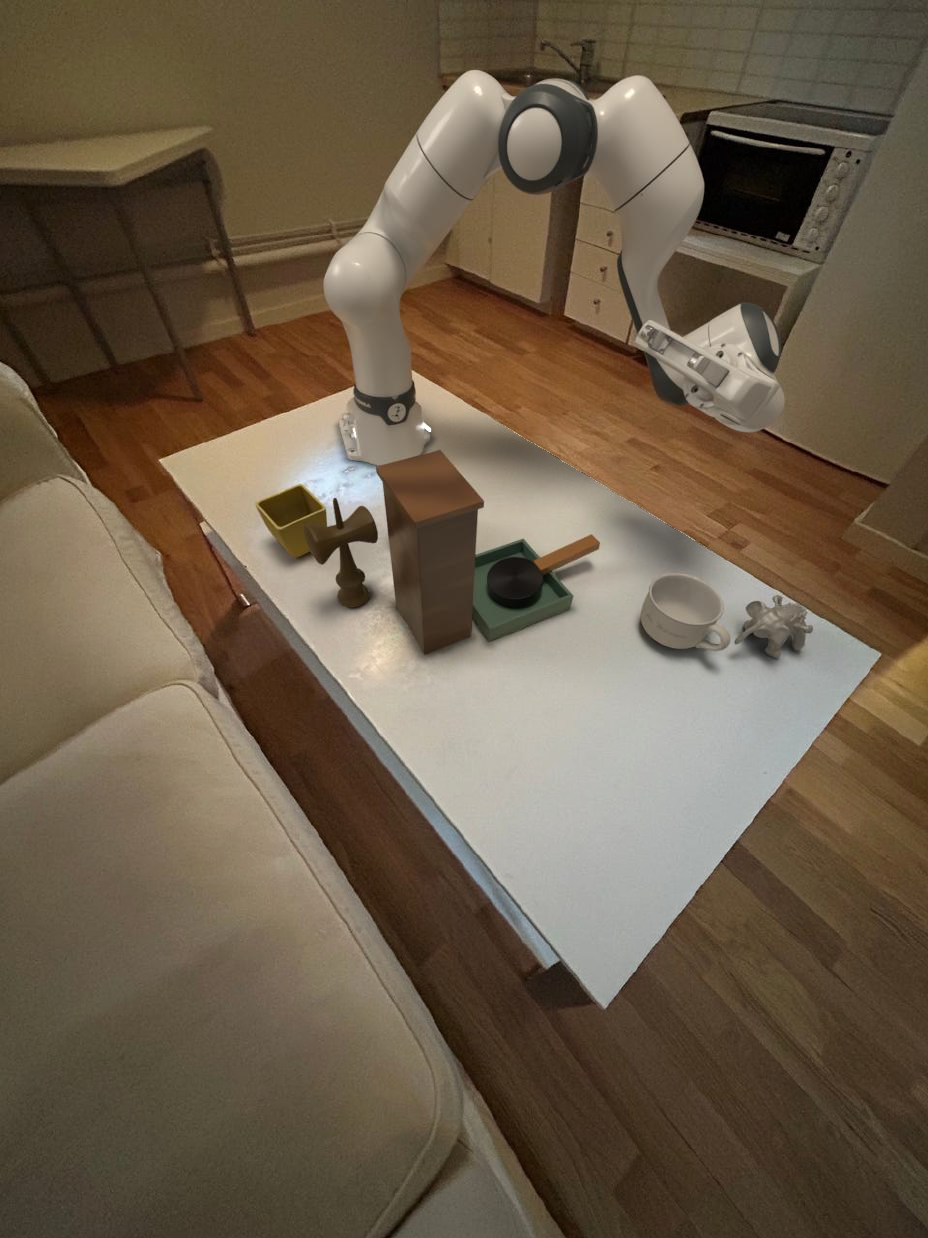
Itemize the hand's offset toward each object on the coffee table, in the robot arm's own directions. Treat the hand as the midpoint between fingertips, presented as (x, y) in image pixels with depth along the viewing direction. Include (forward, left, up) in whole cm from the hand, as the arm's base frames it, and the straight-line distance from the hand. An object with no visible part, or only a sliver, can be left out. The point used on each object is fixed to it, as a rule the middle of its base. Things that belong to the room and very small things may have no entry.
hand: (668, 345), depth 68 cm
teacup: (+20, -1, -37) cm, 42 cm away
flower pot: (-26, -47, -37) cm, 65 cm away
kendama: (-10, -43, -37) cm, 57 cm away
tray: (0, -20, -36) cm, 42 cm away
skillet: (0, -13, -35) cm, 37 cm away
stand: (0, -34, -36) cm, 50 cm away
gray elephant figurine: (+27, +10, -37) cm, 46 cm away
